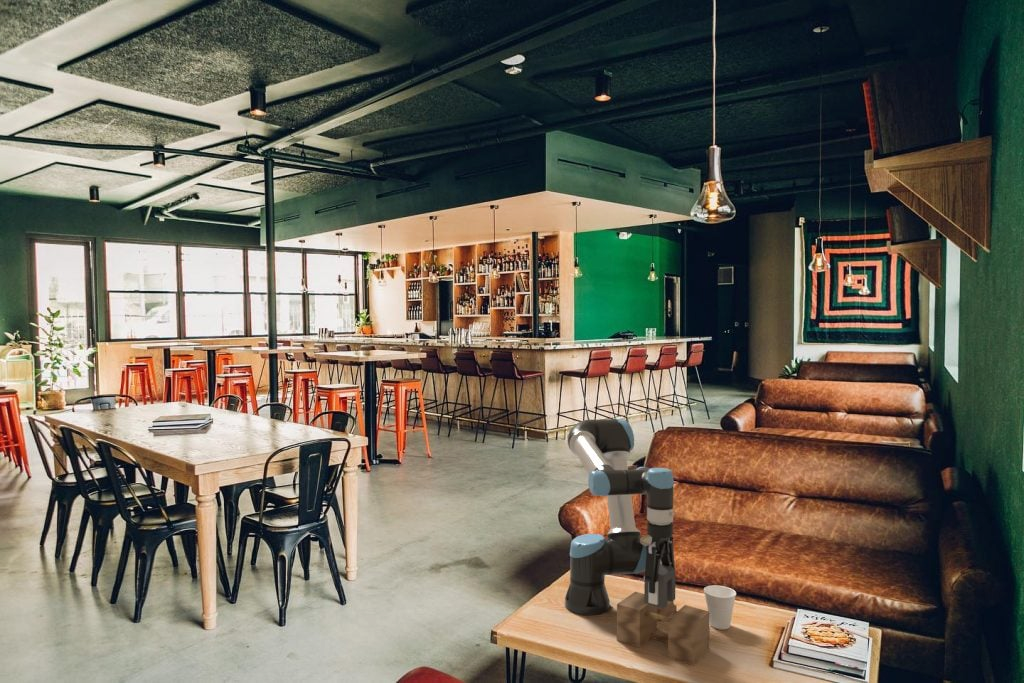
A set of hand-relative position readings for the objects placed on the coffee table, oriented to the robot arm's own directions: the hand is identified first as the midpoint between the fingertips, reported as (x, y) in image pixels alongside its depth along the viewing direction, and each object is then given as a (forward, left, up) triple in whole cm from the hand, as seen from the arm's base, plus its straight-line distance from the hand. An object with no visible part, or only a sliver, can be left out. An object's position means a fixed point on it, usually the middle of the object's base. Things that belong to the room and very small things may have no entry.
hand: (659, 598), depth 190 cm
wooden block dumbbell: (0, +2, -14) cm, 15 cm away
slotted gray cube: (0, 0, -1) cm, 1 cm away
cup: (+9, +25, -15) cm, 30 cm away
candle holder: (-12, +22, -14) cm, 29 cm away
